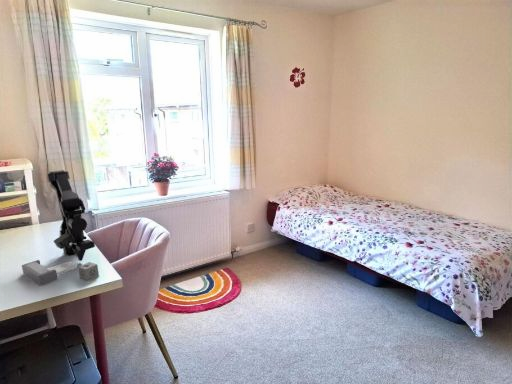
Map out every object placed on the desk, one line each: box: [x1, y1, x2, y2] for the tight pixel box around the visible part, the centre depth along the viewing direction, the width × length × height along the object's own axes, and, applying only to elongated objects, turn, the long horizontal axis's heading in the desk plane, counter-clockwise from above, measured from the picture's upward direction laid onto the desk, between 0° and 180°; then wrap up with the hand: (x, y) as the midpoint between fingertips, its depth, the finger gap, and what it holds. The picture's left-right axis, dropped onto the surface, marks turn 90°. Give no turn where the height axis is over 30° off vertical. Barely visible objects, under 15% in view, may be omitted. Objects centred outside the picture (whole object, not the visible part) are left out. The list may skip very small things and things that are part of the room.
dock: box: [21, 259, 58, 287], centre depth 136 cm, size 6×17×4 cm, turn 52°
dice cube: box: [77, 261, 100, 282], centre depth 134 cm, size 5×5×5 cm
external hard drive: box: [46, 261, 78, 276], centre depth 141 cm, size 2×8×12 cm
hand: (80, 260), depth 148 cm, fingers closed
